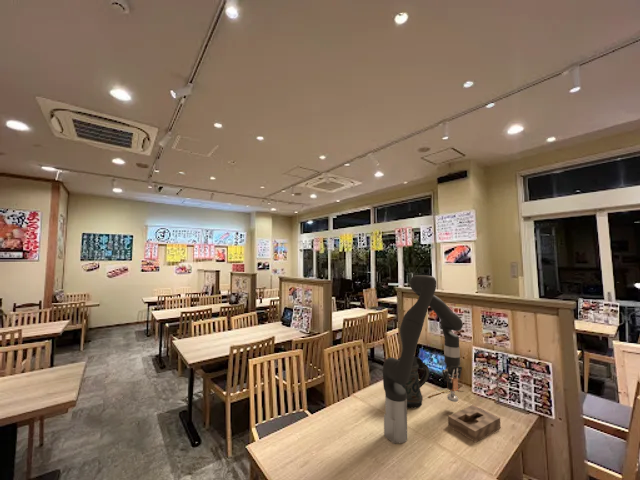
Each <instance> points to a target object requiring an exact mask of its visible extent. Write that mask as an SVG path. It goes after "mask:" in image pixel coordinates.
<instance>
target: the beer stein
mask: <svg viewBox="0 0 640 480" xmlns="http://www.w3.org/2000/svg"><path fill="white" fill-rule="evenodd" d="M400 358H401V356H400V357H398V358H396V359H397V360H400ZM419 369H421V370H422V369H423V370H424V372H423V375H422V377H421V378H420V379H419V372H418V370H419ZM429 376H430V370H429V366H428V365H427V364H426V363H425V362H423V359H421V357H418V356H416V357H415V356H414V360H413V365H412V370H411V374H410V377H409V380H408V382H407V383H406V384H404V385H402V386H403V388H404V389H405V390H406V393H407V409H417V408H420V407H421V406H422V404H423V394H422V391H421V388H422V387H423V386H424V385H425V383H426V382H427V381H428V379H429Z"/></svg>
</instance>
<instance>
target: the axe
mask: <svg viewBox="0 0 640 480" xmlns="http://www.w3.org/2000/svg"><path fill="white" fill-rule="evenodd" d="M441 393H443V394H445V393H444V391H440V392H438V393H435V394H430V395H429V396H427V398H428V399H431V398H433V397H437V396H439V395H442V394H441Z"/></svg>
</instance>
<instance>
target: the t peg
mask: <svg viewBox="0 0 640 480" xmlns="http://www.w3.org/2000/svg"><path fill="white" fill-rule="evenodd" d="M449 378H450V377H449ZM458 382H459V378H456V377H454V378H453V379H452V390H451V389H448V383H447V382H446V383H447V385H446V386H447V387H446V389H447V390H450V391H449V392H450V393H448V394H447V395H446V396H447V397H446V398H447V400H448V401H450V402H454V403H455V402H456V403H457V402H458V401H459V397H458V396H457V395H456V393H455V392H458V391H457V390H458V388H459V385H458V384H459V383H458Z"/></svg>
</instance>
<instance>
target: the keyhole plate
mask: <svg viewBox="0 0 640 480" xmlns="http://www.w3.org/2000/svg"><path fill="white" fill-rule="evenodd" d="M447 425H448V427H449V428H451V429H453V430H454V431H456V432H458V433H460V434H461V435H463V436H465V437H466V438H468V439H469V440H471V441H473V442H474V443H477V442H479V441H480V440H482V439H483V438H485V437H487V436H489V435H491V434H492V433H494V432H495V431H497V430H499V429H501V417H499V416H498V415H495V414H493V413H492V412H488V411H486V410H485V409H484V408H480V407H478V406H476V405H474V404H472V405H469V406H467V407H464V408H463V409H461V410H458V411H456V412H454V413H452V414H449V415H448V416H447Z"/></svg>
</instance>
